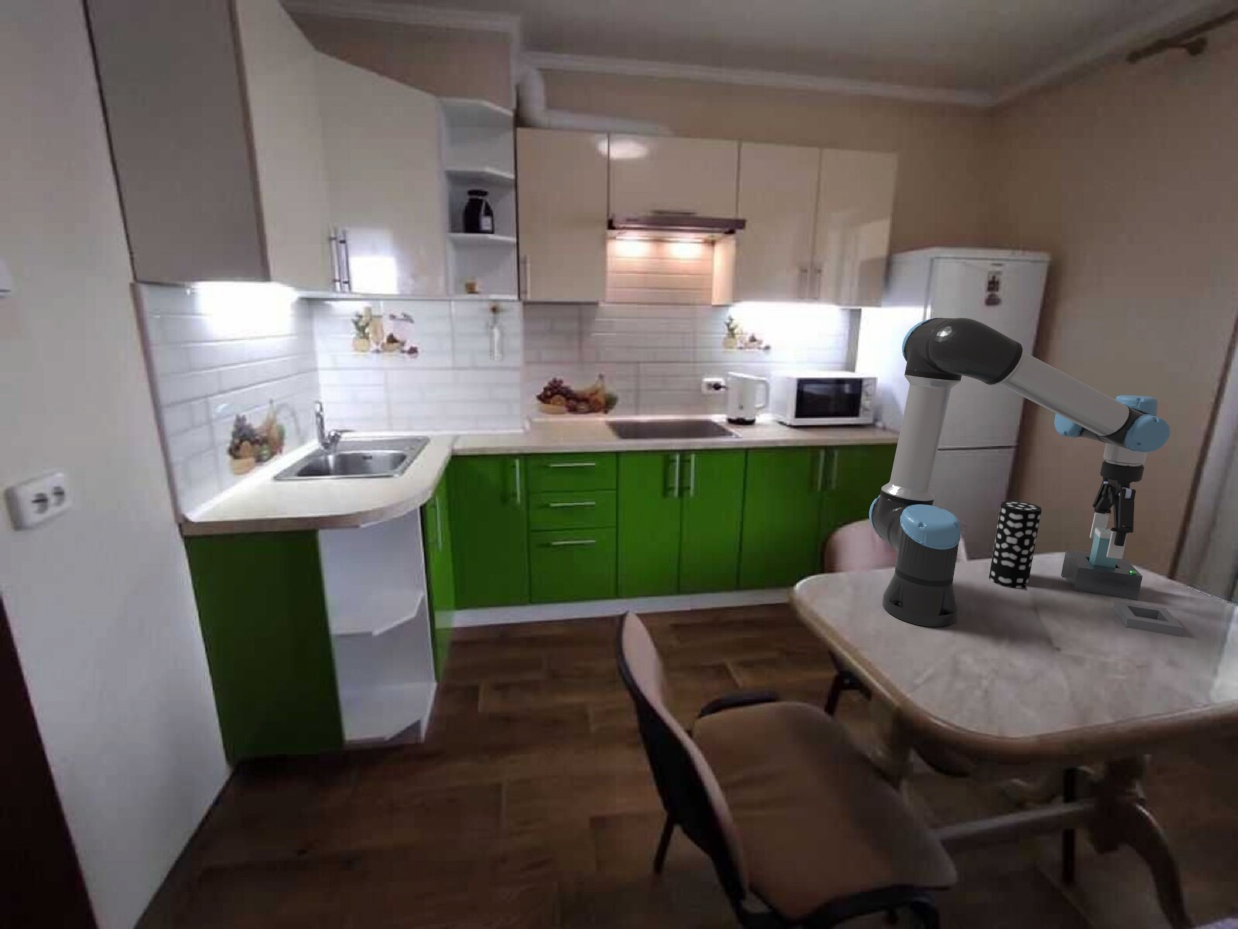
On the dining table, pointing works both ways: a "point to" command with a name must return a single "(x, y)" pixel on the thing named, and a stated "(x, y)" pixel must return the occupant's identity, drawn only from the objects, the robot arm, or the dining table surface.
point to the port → (1101, 576)
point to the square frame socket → (1147, 618)
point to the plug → (1101, 549)
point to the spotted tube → (1014, 543)
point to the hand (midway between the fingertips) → (1105, 547)
